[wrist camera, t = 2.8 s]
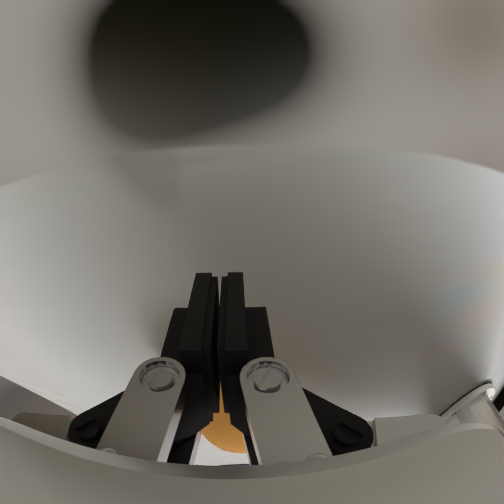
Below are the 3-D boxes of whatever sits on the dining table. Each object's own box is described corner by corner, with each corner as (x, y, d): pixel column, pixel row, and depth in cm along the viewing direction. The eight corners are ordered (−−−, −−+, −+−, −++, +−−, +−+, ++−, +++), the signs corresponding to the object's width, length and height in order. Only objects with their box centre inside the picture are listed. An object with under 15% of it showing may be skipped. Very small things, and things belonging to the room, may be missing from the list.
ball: (298, 370, 19) (313, 439, 13) (249, 409, 20) (252, 471, 15) (228, 336, 17) (225, 414, 12) (184, 382, 19) (173, 449, 13)
